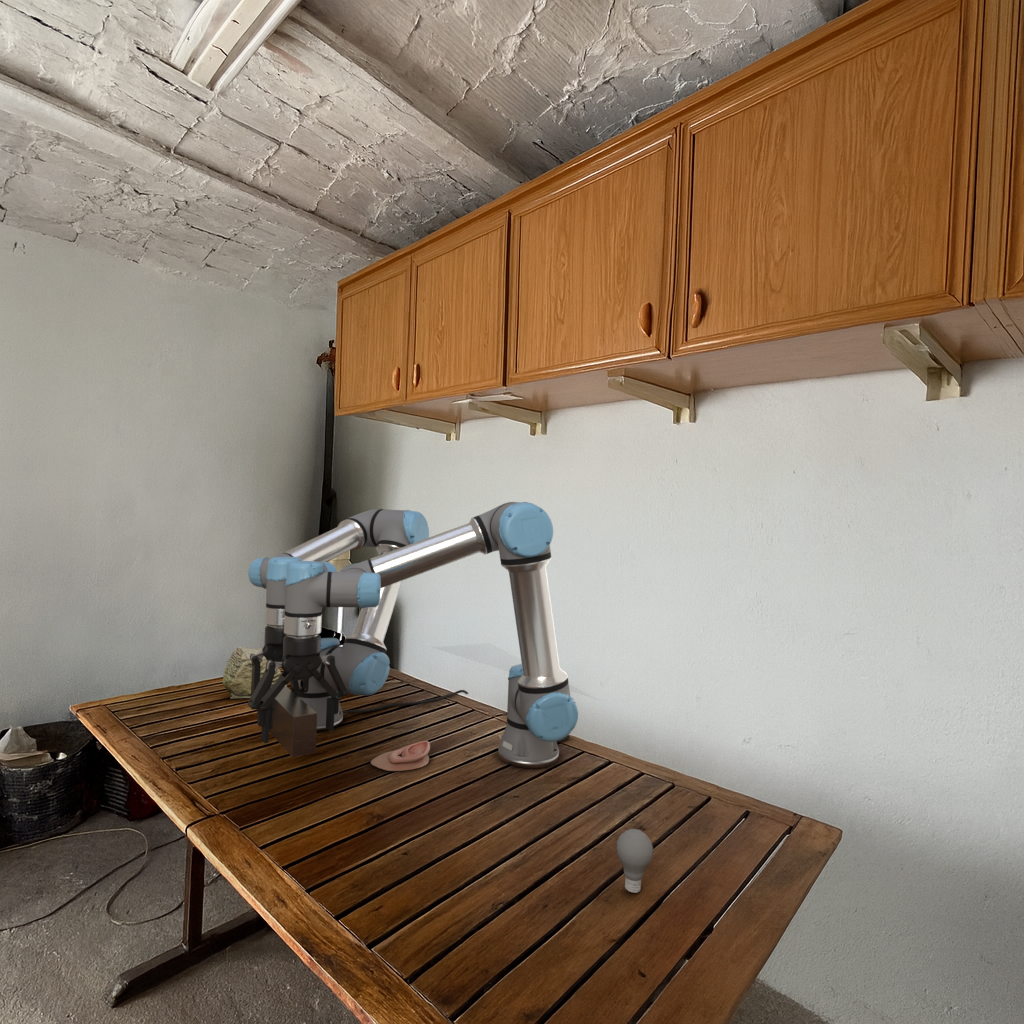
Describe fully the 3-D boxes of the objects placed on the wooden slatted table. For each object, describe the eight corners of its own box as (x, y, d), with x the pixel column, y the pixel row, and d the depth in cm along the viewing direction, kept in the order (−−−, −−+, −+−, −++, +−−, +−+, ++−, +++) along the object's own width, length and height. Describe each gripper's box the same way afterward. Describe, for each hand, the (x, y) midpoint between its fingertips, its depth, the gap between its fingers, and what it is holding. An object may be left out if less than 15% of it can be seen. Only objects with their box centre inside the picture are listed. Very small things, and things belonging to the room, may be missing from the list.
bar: (263, 725, 147) (265, 689, 146) (285, 721, 150) (286, 686, 149) (292, 757, 130) (293, 716, 129) (315, 752, 132) (317, 712, 132)
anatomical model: (365, 751, 148) (384, 733, 160) (364, 767, 148) (384, 749, 160) (419, 758, 146) (435, 740, 157) (418, 775, 146) (434, 756, 157)
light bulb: (610, 879, 108) (613, 822, 108) (644, 879, 109) (647, 822, 109) (619, 902, 102) (622, 840, 102) (655, 901, 103) (658, 840, 103)
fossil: (218, 695, 195) (220, 647, 195) (278, 685, 208) (279, 640, 207) (228, 703, 189) (230, 653, 188) (289, 692, 201) (290, 645, 201)
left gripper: (245, 631, 136) (241, 738, 137) (326, 624, 147) (323, 724, 147) (237, 625, 142) (233, 727, 143) (315, 618, 153) (312, 714, 154)
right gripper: (244, 644, 123) (240, 752, 123) (365, 633, 138) (361, 730, 138) (235, 636, 129) (231, 739, 129) (352, 626, 144) (348, 719, 144)
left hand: (279, 725), depth 145 cm, fingers closed on bar, 5 cm apart
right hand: (298, 735), depth 134 cm, fingers open, 13 cm apart
